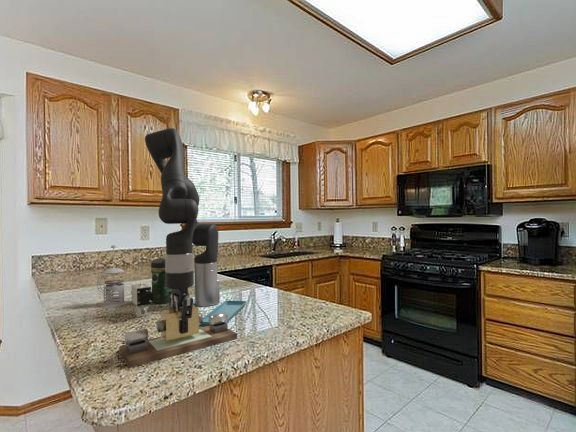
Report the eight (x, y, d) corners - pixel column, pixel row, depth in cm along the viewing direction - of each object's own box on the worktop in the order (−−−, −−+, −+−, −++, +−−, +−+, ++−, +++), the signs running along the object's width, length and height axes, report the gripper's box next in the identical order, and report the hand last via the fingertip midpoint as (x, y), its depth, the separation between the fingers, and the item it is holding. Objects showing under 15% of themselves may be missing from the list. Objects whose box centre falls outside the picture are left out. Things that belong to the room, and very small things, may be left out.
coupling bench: (219, 328, 105) (218, 307, 105) (237, 338, 96) (236, 316, 96) (119, 351, 87) (119, 327, 88) (129, 367, 78) (128, 340, 78)
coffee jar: (177, 301, 141) (176, 258, 141) (160, 305, 135) (160, 260, 135) (164, 298, 147) (164, 257, 147) (148, 302, 141) (147, 258, 141)
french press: (119, 307, 133) (118, 245, 133) (91, 307, 133) (90, 246, 134) (131, 301, 143) (130, 244, 143) (105, 301, 143) (104, 244, 143)
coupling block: (197, 328, 97) (197, 304, 97) (203, 332, 93) (203, 307, 93) (155, 337, 90) (155, 312, 90) (160, 342, 86) (160, 315, 86)
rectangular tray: (224, 328, 106) (224, 321, 106) (198, 327, 107) (197, 320, 107) (247, 307, 132) (247, 300, 132) (225, 306, 133) (225, 300, 133)
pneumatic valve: (138, 320, 115) (138, 286, 115) (131, 313, 124) (130, 281, 124) (155, 317, 118) (154, 284, 118) (146, 310, 127) (146, 279, 127)
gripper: (202, 271, 88) (203, 334, 88) (183, 265, 100) (184, 321, 100) (174, 274, 84) (175, 341, 84) (158, 268, 95) (159, 327, 95)
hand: (180, 330), depth 92 cm, fingers closed on coupling block, 4 cm apart
